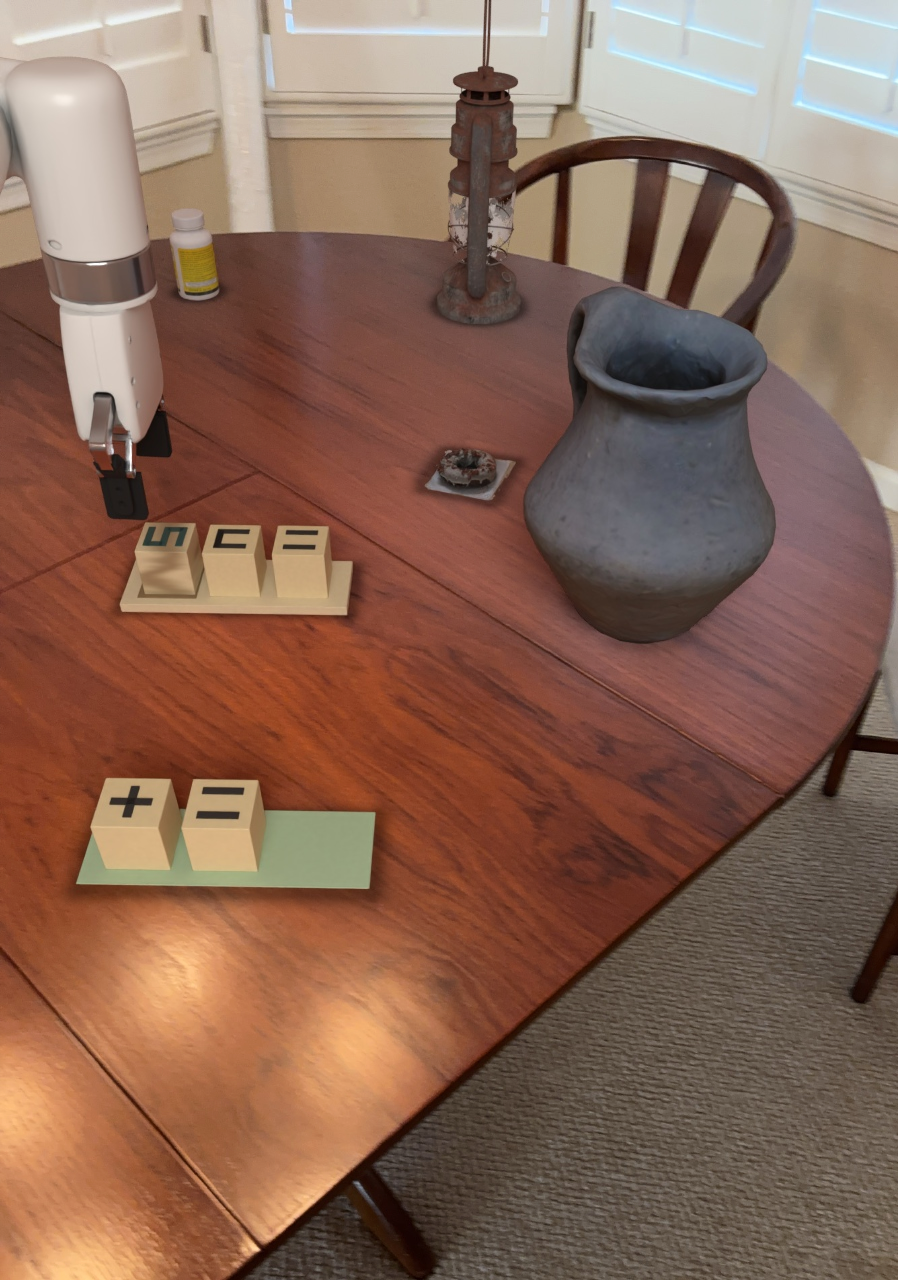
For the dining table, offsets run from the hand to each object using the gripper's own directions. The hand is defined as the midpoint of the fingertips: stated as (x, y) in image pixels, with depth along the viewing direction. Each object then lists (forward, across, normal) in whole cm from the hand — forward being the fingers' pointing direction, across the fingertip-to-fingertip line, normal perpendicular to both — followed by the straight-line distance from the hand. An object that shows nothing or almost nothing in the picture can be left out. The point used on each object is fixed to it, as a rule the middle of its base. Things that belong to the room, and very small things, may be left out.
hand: (141, 485), depth 88 cm
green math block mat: (+10, +31, +11) cm, 34 cm away
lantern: (+10, -62, +29) cm, 69 cm away
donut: (+10, -20, +28) cm, 36 cm away
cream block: (+10, 0, +1) cm, 10 cm away
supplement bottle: (+11, -65, -8) cm, 67 cm away
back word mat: (+10, 0, +7) cm, 13 cm away
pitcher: (+10, +1, +42) cm, 43 cm away
